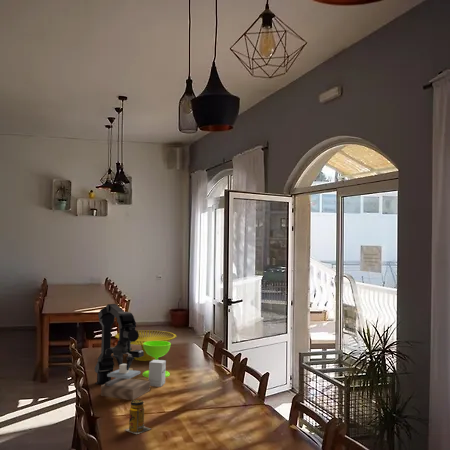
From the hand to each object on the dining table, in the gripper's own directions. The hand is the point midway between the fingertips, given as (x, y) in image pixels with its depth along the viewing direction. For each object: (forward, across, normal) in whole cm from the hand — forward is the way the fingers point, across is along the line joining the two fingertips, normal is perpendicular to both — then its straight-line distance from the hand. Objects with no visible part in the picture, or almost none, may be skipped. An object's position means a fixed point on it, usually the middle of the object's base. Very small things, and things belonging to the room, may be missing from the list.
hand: (124, 369), depth 277 cm
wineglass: (+13, -4, +46) cm, 48 cm away
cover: (+3, 0, 0) cm, 3 cm away
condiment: (+14, +28, -39) cm, 50 cm away
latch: (+7, -7, +16) cm, 19 cm away
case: (+13, -2, +6) cm, 14 cm away
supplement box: (+13, +6, +26) cm, 30 cm away
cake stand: (+13, -29, +80) cm, 86 cm away
